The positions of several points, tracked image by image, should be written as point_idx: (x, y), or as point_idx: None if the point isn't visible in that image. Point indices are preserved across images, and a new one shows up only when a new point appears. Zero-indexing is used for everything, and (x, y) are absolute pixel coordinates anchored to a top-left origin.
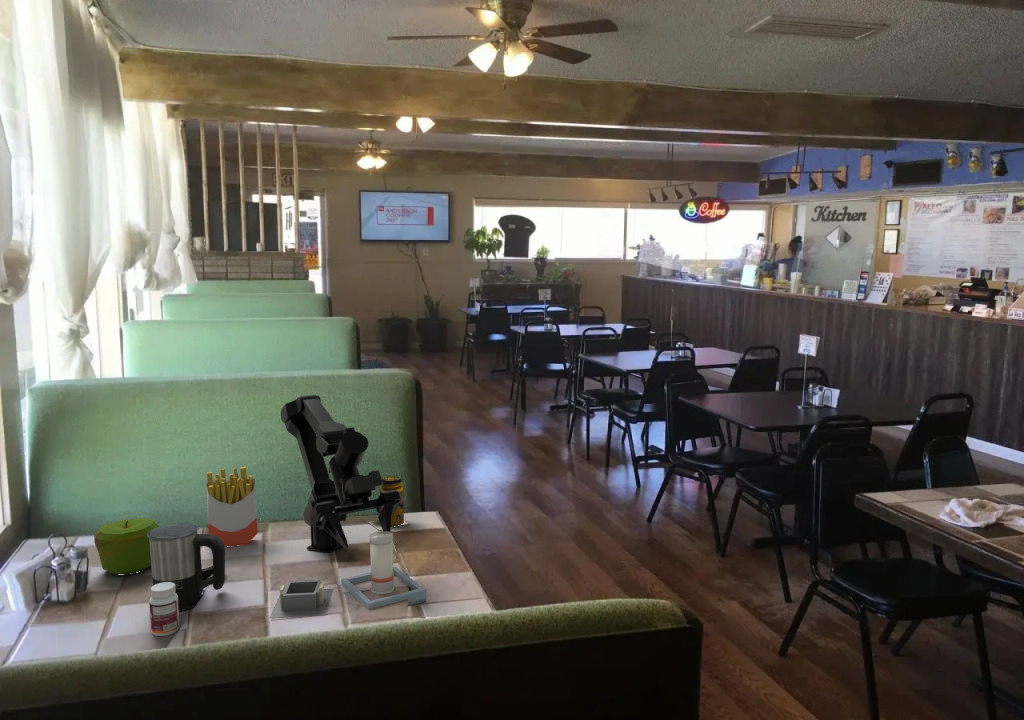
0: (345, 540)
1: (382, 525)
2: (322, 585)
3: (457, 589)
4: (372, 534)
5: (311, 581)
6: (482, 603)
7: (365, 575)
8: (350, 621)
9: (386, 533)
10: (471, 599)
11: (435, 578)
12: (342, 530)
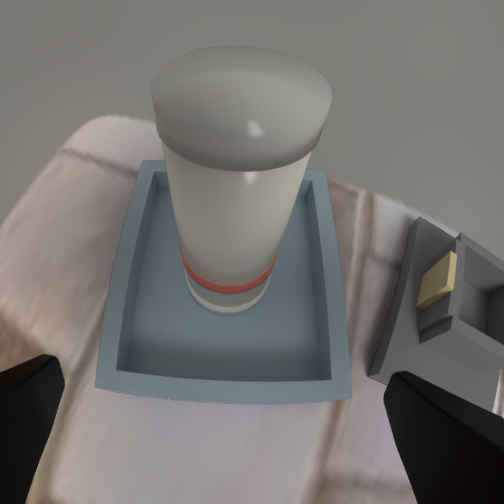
0: (429, 392)
1: (9, 498)
2: (450, 268)
3: (50, 203)
4: (299, 108)
5: (472, 330)
6: (78, 131)
7: (249, 382)
8: (359, 201)
9: (193, 78)
10: (75, 150)
11: (30, 297)
12: (487, 434)
